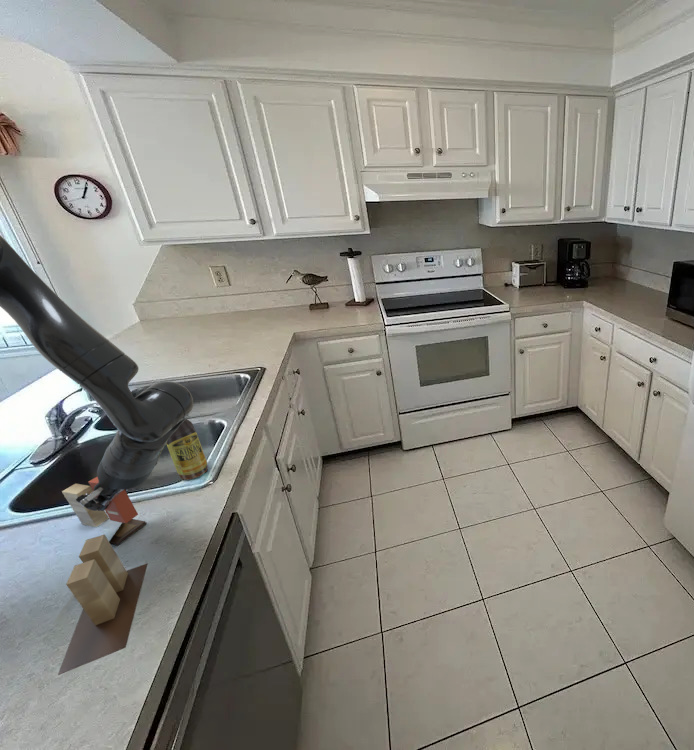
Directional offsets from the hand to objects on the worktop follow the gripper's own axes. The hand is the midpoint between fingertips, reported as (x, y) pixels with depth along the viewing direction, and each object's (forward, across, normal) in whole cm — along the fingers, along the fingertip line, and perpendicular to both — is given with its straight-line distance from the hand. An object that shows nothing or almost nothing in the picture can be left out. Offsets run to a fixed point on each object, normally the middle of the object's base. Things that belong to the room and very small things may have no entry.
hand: (108, 501), depth 82 cm
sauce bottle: (+8, -19, +4) cm, 22 cm away
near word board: (-5, +15, +17) cm, 23 cm away
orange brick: (+1, 0, +4) cm, 4 cm away
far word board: (+9, 0, +3) cm, 10 cm away
